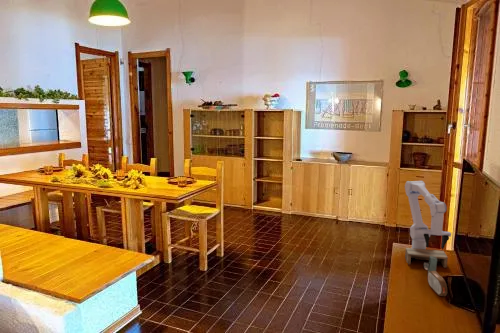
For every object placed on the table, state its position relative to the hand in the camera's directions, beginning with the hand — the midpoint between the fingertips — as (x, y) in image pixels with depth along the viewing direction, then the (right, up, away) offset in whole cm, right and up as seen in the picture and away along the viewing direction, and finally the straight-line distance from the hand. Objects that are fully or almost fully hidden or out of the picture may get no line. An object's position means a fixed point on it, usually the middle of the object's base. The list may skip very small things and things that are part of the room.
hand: (434, 247), depth 203 cm
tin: (-12, -16, -25) cm, 32 cm away
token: (-5, -12, -2) cm, 13 cm away
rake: (-6, -12, -6) cm, 14 cm away
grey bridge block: (-3, -10, +5) cm, 11 cm away
